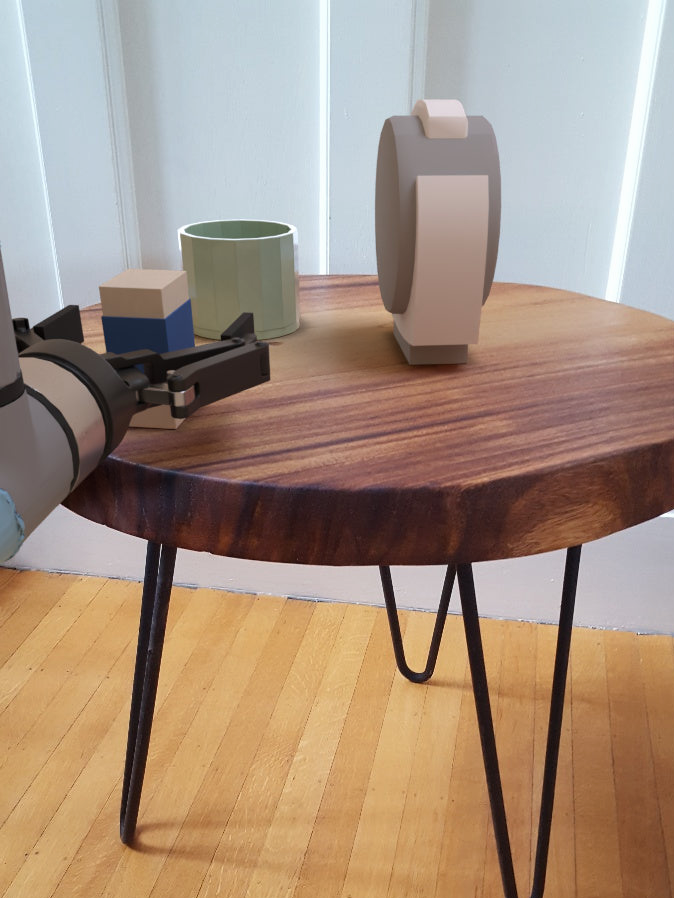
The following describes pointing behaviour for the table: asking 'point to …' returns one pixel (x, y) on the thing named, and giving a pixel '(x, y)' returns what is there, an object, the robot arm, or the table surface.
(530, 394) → the table surface
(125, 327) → the eraser
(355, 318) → the table surface
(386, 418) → the table surface
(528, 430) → the table surface
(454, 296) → the alarm clock
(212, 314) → the cup
